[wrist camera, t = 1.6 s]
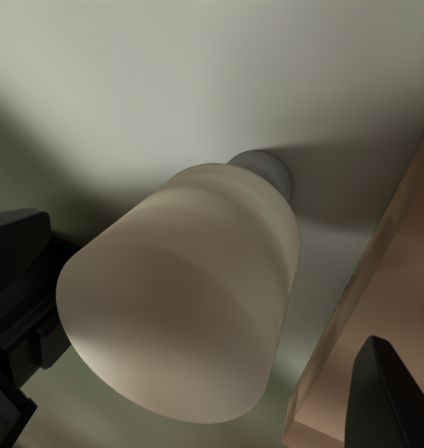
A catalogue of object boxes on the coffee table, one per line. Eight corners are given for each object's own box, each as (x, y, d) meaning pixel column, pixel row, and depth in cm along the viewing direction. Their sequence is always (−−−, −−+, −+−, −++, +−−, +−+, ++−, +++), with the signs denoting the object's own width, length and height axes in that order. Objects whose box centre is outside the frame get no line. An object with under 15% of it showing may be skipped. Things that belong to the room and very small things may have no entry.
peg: (194, 216, 16) (61, 367, 9) (213, 113, 14) (48, 206, 6) (294, 250, 15) (238, 453, 8) (333, 147, 13) (304, 302, 5)
